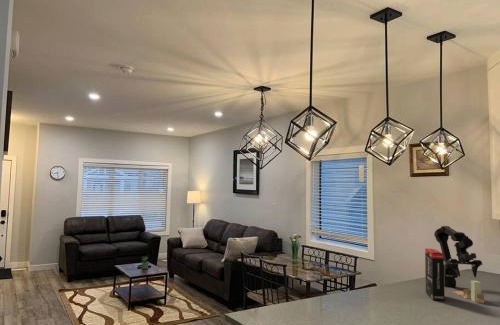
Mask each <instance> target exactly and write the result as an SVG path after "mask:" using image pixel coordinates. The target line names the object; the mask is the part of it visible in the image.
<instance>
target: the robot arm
mask: <svg viewBox="0 0 500 325" xmlns="http://www.w3.org/2000/svg"><path fill="white" fill-rule="evenodd" d="M433 236H434V237H435V240H436V242H437V243H439V246H440V250H441V253H442V254H444V288H445V287H447V288H454V289H455V288H456V287H457V280H456V279H458V277H459V278H460V277H461V272H460V269H459V265H470V266H471V271H472V275H473V276H474V278H476V277H477V273H478V268H479V267H481V266H483V264H484V263H483V262H482V260H480V259H477V255H476V253H474V252H471V253H470V254H469V251H468V249H469V248H471V247H472V246H473V245H474V242H473V240H472V239H471V238H469V236H467V235H466V234H465V232H462V231H456V230H455V229H454V228H452V227H450V226H448V225H441V226H440V228H437V229H436V230H435V231H434V235H433ZM449 237H450V238H449ZM449 239H451V240H452V241H453V242H455V243H454V245H453V247H455V250H456V254H455V255H456V257H457V259H456V258H453V257H452V255H451V251H450V247H449V245H448V244H449V243H448V241H449Z"/></svg>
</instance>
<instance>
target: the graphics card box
mask: <svg viewBox="0 0 500 325" xmlns="http://www.w3.org/2000/svg"><path fill="white" fill-rule="evenodd" d="M424 262H425V264H424V265H425V269H424V272H425V273H424V274H425V293H426V294H427V296H429V298H430V299H431V300H432V301H437V302H445V300H446V299H445V286H444V264H445V262H444V254H442V251H439V250H437V249H435V248H434V249H433V248H425V249H424Z"/></svg>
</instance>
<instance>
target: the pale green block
mask: <svg viewBox="0 0 500 325" xmlns="http://www.w3.org/2000/svg"><path fill="white" fill-rule="evenodd" d="M481 283H482V281H481V282H480V281H478V280H470V289H471V299H470V300H471V301H473V302H475V303H476V293H479V294H482V284H481Z"/></svg>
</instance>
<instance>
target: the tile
mask: <svg viewBox="0 0 500 325" xmlns="http://www.w3.org/2000/svg"><path fill="white" fill-rule="evenodd" d="M451 292H452V293H454V294H456V295H458V296H462V295H464V292H463V290H461V291H459V290H451Z"/></svg>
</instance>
